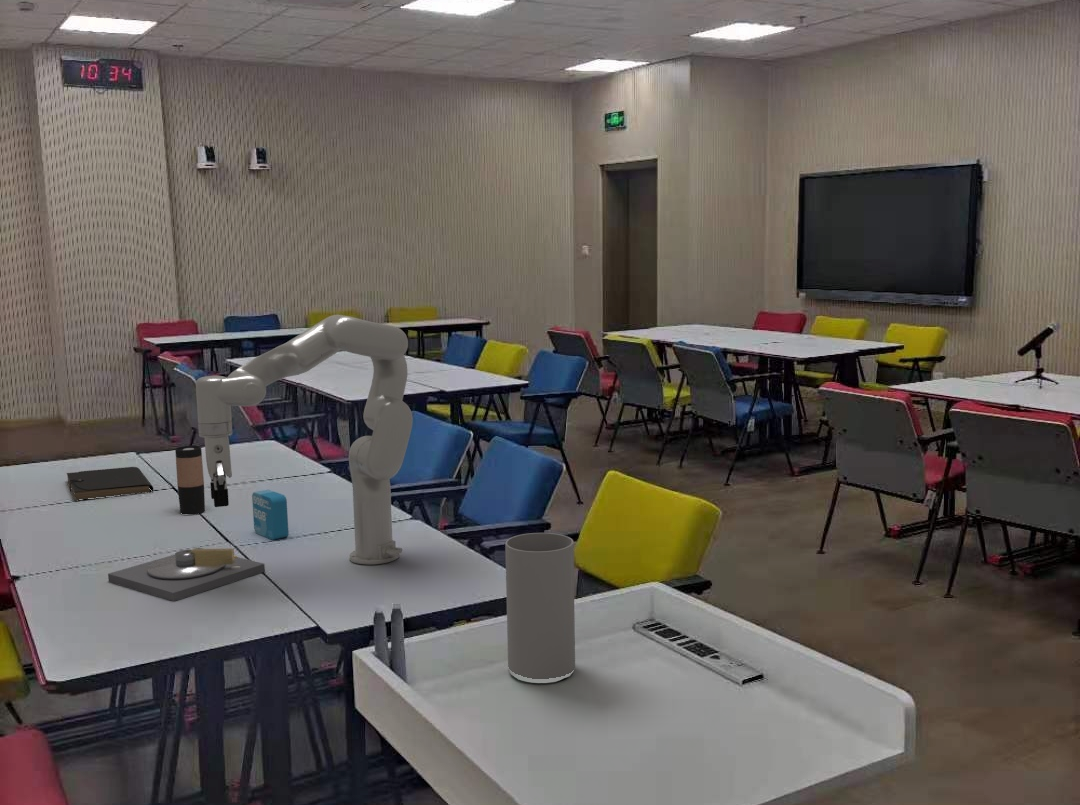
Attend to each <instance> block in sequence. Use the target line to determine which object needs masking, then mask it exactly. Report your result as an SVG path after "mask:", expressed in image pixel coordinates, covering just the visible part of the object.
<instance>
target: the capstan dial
mask: <svg viewBox="0 0 1080 805" xmlns="http://www.w3.org/2000/svg"><path fill="white" fill-rule="evenodd" d="M174 555H175V556H171V555H170V556H171V557H168V556H166V557H167V558H164V557H162V558H163V559H161V558H159V559H160V560H157V559H156V560H157V561H155V562H153V563H151V564H150V565H149V566H148V574H149V575H150V576H152V577H154V578H159V579H169V580H175V579H189V578H196V577H201V576H205V575H209V574H212V573H215V572H217V571H219V570H221V569H222V568H224V566H225V564H233V563H234V562H235V561H234V556H235V548H203V549H196V548H193V549H184V550H180V551H179V550H178V551H177V552H175V553H174Z"/></svg>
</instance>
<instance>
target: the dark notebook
mask: <svg viewBox="0 0 1080 805" xmlns="http://www.w3.org/2000/svg"><path fill="white" fill-rule="evenodd" d="M66 475H67V483H68V486H69V491H72V493H73V492H74V493H75V494H74V493H73V494H74V496H75V497H74V498H75V501H76V500H79V499H88V498H96V497H106V496H114V495H121V494H131V493H139V492H150V493H151V491H150V489H151V490H152V491H153V492H154V486H153V485H152V484H151V482H150V481H149V479H147V477H146V475H145V474H144V472H142V470H141V469H140V468H138V467H137V466H125V467H116V468H115V467H114V468H104V469H93V470H92V469H91V470H81V471H75V472H66ZM71 488H72V489H73V490H72V489H71ZM149 488H150V489H149Z"/></svg>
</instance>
